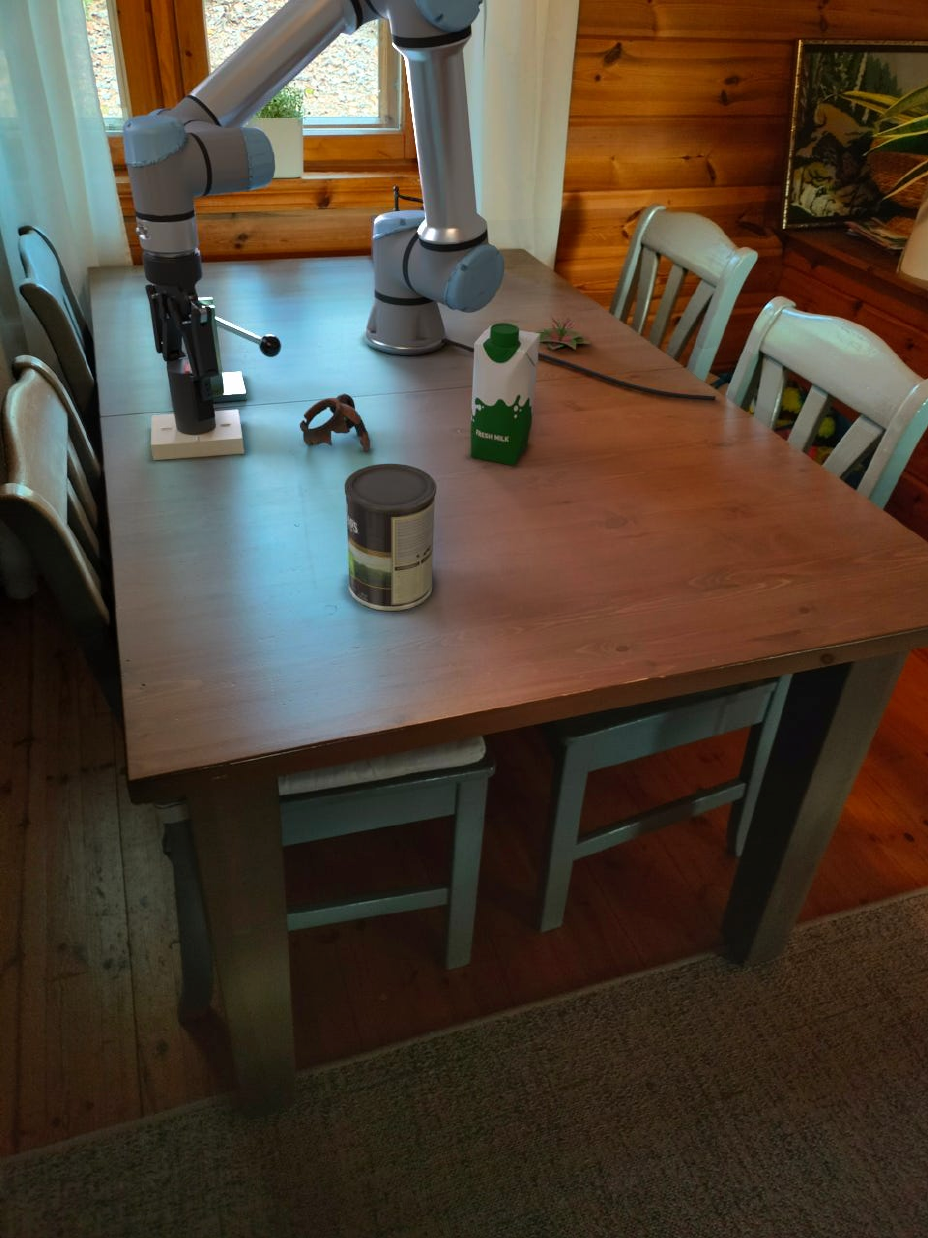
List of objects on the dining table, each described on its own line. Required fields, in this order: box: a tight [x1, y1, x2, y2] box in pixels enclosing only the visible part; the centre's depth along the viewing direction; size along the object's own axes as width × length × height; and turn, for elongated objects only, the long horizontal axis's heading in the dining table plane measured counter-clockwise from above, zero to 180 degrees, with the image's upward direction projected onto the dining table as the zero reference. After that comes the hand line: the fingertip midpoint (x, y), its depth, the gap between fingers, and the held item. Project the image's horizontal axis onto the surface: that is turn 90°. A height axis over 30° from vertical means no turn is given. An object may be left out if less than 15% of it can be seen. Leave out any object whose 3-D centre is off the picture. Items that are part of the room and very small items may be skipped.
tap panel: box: [150, 409, 245, 461], centre depth 137 cm, size 13×10×3 cm
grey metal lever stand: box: [186, 296, 248, 403], centre depth 148 cm, size 11×9×15 cm
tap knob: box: [166, 357, 216, 435], centre depth 134 cm, size 6×6×10 cm
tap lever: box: [202, 305, 282, 358], centre depth 148 cm, size 15×4×4 cm, turn 108°
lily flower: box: [534, 315, 592, 351], centre depth 176 cm, size 12×12×5 cm
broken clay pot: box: [299, 393, 371, 453], centre depth 139 cm, size 12×10×8 cm
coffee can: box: [344, 463, 437, 612], centre depth 106 cm, size 10×10×14 cm
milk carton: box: [470, 322, 540, 467], centre depth 134 cm, size 9×9×20 cm
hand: (193, 410), depth 135 cm, fingers closed on tap knob, 6 cm apart
